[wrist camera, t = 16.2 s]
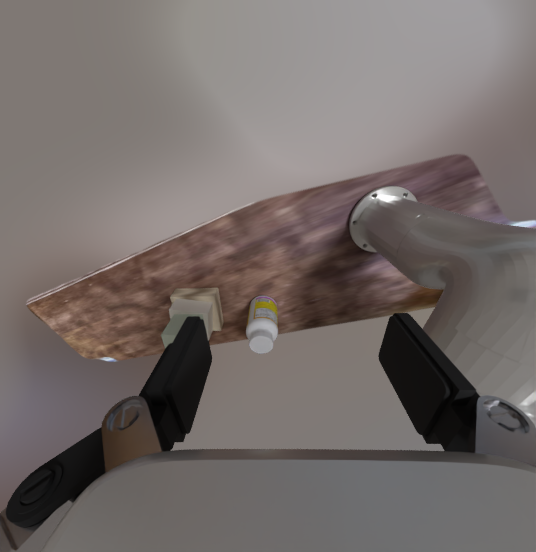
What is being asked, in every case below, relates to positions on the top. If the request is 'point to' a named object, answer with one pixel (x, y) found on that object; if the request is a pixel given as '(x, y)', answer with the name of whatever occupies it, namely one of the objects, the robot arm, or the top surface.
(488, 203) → the top surface
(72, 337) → the top surface
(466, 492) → the robot arm
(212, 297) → the tower base block
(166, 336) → the stack block
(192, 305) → the tower top block
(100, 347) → the top surface
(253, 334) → the supplement bottle
